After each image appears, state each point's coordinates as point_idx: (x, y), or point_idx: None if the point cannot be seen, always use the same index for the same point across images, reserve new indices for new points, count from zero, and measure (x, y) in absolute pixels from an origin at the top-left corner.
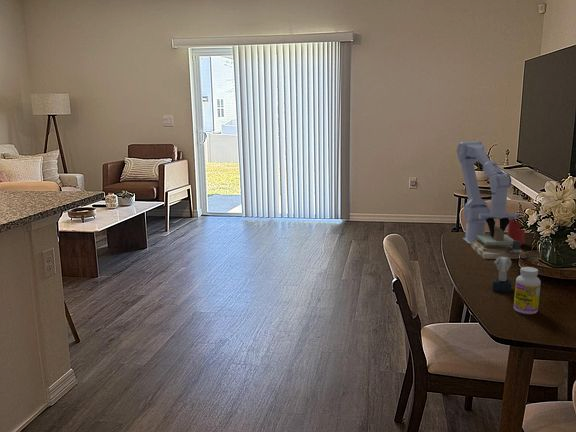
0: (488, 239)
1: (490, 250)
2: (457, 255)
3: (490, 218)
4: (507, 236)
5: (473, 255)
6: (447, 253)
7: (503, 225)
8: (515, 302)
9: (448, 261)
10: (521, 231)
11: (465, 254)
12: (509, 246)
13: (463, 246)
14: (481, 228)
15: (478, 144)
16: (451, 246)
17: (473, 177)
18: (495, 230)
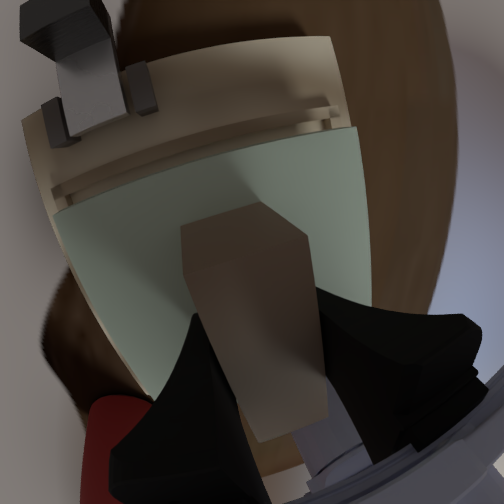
0: (324, 231)
1: (284, 112)
2: (427, 108)
3: (462, 411)
4: (152, 381)
5: (365, 111)
6: (454, 141)
7: (207, 396)
8: None
9: (444, 23)
10: (90, 458)
11: (399, 129)
12: (125, 106)
13: (384, 289)
14: (334, 428)
15: None
16: (426, 268)
17: None
18: (313, 275)
